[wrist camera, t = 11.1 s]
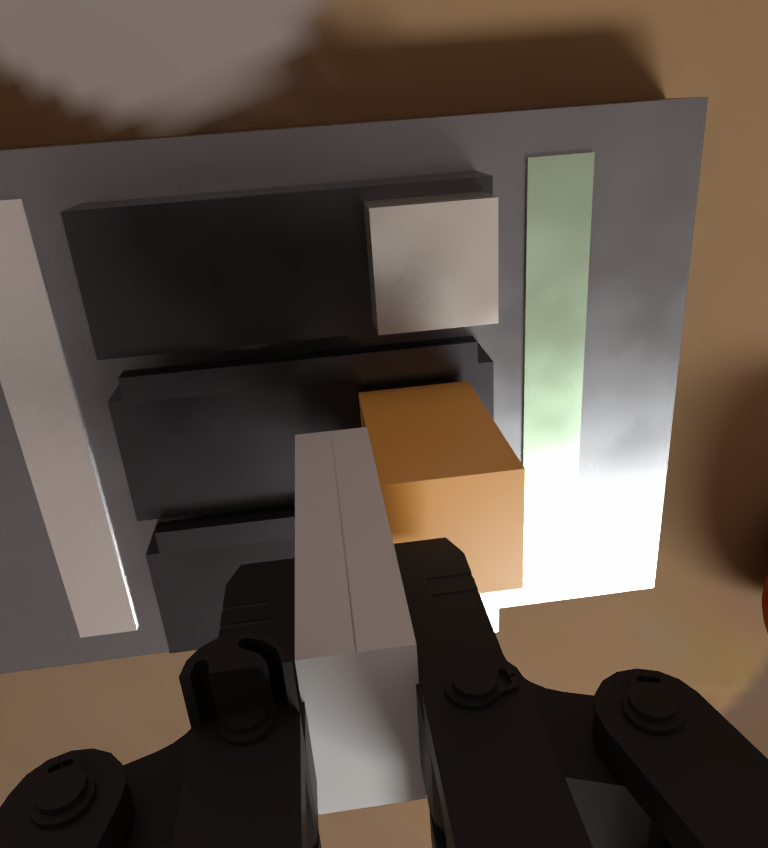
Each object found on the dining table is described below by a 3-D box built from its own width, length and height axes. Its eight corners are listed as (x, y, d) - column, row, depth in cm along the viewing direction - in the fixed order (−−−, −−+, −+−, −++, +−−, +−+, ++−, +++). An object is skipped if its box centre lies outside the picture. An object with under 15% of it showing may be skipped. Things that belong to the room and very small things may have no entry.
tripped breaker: (367, 489, 17) (389, 605, 13) (358, 392, 16) (379, 485, 12) (470, 477, 18) (522, 587, 14) (468, 381, 17) (524, 468, 12)
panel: (19, 628, 22) (-46, 750, 18) (-148, 159, 17) (-300, 176, 12) (626, 551, 24) (698, 647, 20) (666, 98, 18) (781, 93, 14)
